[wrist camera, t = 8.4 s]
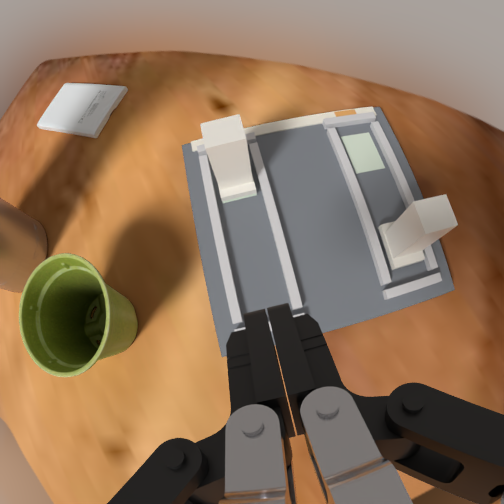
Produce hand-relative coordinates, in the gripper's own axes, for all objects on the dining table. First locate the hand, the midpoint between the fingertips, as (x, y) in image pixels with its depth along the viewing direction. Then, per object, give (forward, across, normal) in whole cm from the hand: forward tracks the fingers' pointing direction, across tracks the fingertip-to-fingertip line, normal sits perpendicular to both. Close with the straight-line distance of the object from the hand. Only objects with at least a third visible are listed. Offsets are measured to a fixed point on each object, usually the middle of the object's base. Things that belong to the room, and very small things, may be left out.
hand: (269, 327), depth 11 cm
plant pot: (+16, +15, +10) cm, 24 cm away
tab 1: (+21, 0, +1) cm, 21 cm away
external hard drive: (+37, +18, -11) cm, 42 cm away
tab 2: (+14, -13, +8) cm, 21 cm away
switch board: (+19, -6, +6) cm, 21 cm away
